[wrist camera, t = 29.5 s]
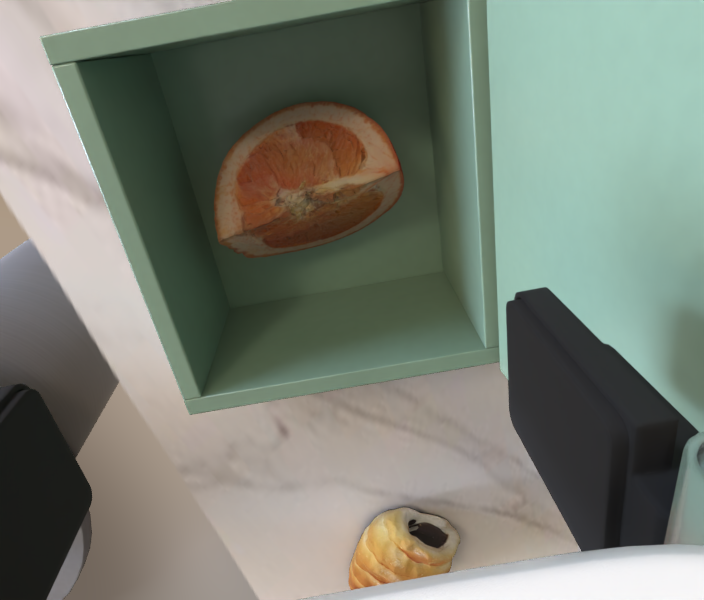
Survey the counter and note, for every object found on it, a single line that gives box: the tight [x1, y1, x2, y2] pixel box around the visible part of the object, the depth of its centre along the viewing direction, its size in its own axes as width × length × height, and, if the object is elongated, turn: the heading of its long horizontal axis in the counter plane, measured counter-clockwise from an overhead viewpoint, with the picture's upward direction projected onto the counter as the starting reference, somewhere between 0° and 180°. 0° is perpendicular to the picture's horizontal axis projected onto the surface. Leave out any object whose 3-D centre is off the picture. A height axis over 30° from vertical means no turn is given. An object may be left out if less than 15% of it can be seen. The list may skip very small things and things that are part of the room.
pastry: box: [349, 508, 460, 590], centre depth 38 cm, size 9×7×4 cm
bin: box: [40, 0, 500, 415], centre depth 22 cm, size 14×15×9 cm
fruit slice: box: [214, 101, 404, 258], centre depth 23 cm, size 8×7×5 cm
